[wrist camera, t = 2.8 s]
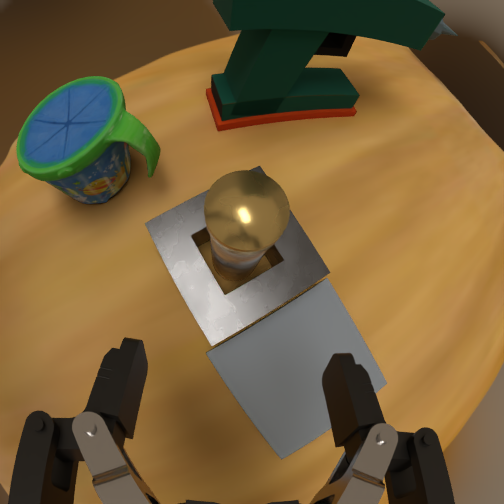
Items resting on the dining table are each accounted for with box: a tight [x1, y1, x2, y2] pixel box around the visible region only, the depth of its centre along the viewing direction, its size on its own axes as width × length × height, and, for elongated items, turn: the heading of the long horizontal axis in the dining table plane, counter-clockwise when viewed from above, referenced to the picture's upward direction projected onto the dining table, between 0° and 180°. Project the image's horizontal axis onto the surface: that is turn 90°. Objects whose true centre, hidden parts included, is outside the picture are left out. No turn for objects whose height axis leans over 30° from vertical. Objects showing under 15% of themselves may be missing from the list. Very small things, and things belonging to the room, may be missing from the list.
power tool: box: [206, 0, 458, 131], centre depth 23 cm, size 32×7×20 cm, turn 107°
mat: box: [206, 278, 387, 460], centre depth 23 cm, size 13×13×1 cm
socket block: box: [145, 166, 330, 346], centre depth 24 cm, size 11×11×4 cm
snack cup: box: [17, 76, 160, 204], centre depth 21 cm, size 16×10×10 cm
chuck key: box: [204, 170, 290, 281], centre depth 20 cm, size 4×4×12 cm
